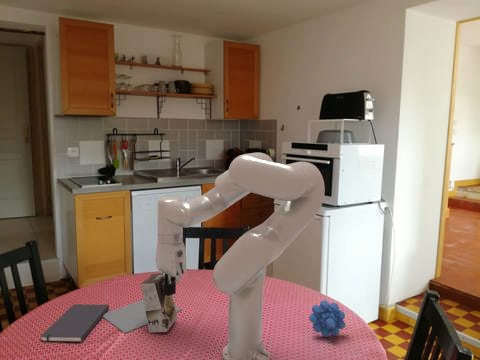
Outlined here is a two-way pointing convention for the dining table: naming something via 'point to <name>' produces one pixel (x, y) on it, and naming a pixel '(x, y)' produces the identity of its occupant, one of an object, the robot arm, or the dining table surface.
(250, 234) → the robot arm
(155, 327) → the coffee box
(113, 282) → the dining table surface
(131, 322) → the mat
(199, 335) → the dining table surface
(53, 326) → the notebook
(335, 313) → the grapes
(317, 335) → the dining table surface
